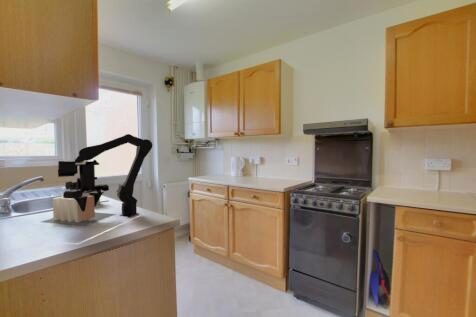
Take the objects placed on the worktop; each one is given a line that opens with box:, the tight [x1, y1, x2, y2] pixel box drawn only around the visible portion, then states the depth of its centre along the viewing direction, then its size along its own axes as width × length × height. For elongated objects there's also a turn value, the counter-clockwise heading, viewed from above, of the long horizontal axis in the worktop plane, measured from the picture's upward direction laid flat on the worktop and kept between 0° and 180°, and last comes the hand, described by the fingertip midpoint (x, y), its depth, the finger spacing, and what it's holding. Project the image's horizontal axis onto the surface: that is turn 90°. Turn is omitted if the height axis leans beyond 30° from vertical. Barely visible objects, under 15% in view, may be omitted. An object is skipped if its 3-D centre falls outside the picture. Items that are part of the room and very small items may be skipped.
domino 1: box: [52, 196, 63, 220], centre depth 107 cm, size 2×5×10 cm, turn 167°
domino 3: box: [67, 198, 75, 222], centre depth 105 cm, size 2×5×10 cm, turn 167°
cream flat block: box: [60, 198, 71, 221], centre depth 106 cm, size 2×5×10 cm, turn 167°
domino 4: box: [74, 200, 83, 222], centre depth 104 cm, size 2×5×10 cm, turn 167°
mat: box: [41, 211, 116, 227], centre depth 108 cm, size 24×18×1 cm
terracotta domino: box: [82, 195, 96, 220], centre depth 103 cm, size 2×5×10 cm, turn 166°
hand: (88, 209), depth 103 cm, fingers closed on terracotta domino, 5 cm apart
